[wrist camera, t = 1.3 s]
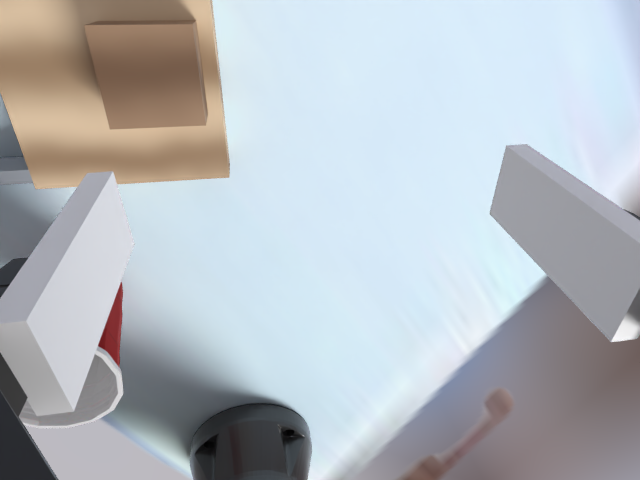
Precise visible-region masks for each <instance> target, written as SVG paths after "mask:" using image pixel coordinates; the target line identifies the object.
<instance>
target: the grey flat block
mask: <svg viewBox="0 0 640 480" xmlns="http://www.w3.org/2000/svg"><path fill="white" fill-rule="evenodd" d="M22 183H33V180H32V178H31V175H30V172H29V170H28V167H27V164H26V161H25V159H24V157H4V158H0V185H5V184H22Z"/></svg>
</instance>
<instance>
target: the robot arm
mask: <svg viewBox="0 0 640 480" xmlns="http://www.w3.org/2000/svg"><path fill="white" fill-rule="evenodd" d="M490 215H491V216H492V217H493V218H494V219H495V220H496V221H497V222H498V223H499V224H500V225H501V227H502V228H503V229H504V230H505V231H506V232H507V233H508V234H509V235H510V236H511V237H512V238H513V239H514V240H515V241H516V242H517V243H518V244H519V246H520V247H521V248H522V249H523V250H524V251H525V252H526V253H527V254H528V255H529V256H530V257H531V258H532V259H533V260H534V261H535V262H536V263H537V264H538V266H539V267H540V268H541V269H542V270H543V271H544V272H545V273H546V274H547V275H548V276H549V277H550V278H551V279H552V280H553V281H554V282H555V283H556V285H557V286H558V287H559V288H560V289H561V290H562V291H563V292H564V293H565V294H566V295H567V296H568V297H569V298H570V299H571V300H572V301H573V302H574V303H575V304H576V306H577V307H578V308H579V309H580V310H581V311H582V312H583V313H584V314H585V315H586V316H587V317H588V318H589V319H590V320H591V321H592V322H593V324H594V325H595V326H596V327H597V328H598V329H599V330H600V331H601V332H602V333H603V334H604V335H605V336H606V337H607V338H608V339H609V340H610V341H611V342H615V341H623V340H631V339H638V337H639V335H640V217H638V216H637V215H635V214H634V213H631V212H629V211H627V210H624V209H622V208H620V207H619V206H618V205H616V204H615V203H613V202H612V201H610V200H609V199H607V198H606V197H604V196H603V195H601V194H600V193H598V192H597V191H595V190H594V189H592V188H591V187H589V186H588V185H586V184H585V183H583V182H582V181H580V180H579V179H577V178H576V177H574V176H573V175H572V174H570V173H569V172H567V171H566V170H564V169H563V168H561V167H560V166H558V165H557V164H555V163H554V162H552V161H551V160H549V159H548V158H546V157H545V156H543V155H542V154H540V153H539V152H537V151H536V150H534V149H533V148H531V147H530V146H528V145H527V144H523V145H508V146H506V149H505V153H504V157H503V161H502V165H501V169H500V173H499V177H498V181H497V185H496V189H495V193H494V197H493V201H492V205H491V210H490ZM134 245H135V244H134V240H133V237H132V233H131V230H130V227H129V223H128V220H127V217H126V213H125V210H124V206H123V203H122V200H121V196H120V193H119V190H118V186H117V183H116V179H115V176H114V173H113V171H111V172H96V173H87V174H86V176H85V177H84V178H83V180H82V181H81V183H80V184H79V186H78V187H77V189H76V190H75V191H74V193H73V194H72V196H71V197H70V199H69V200H68V202H67V203H66V204H65V206H64V207H63V209H62V210H61V212H60V213H59V214H58V216H57V217H56V219H55V220H54V222H53V223H52V225H51V226H50V227H49V229H48V230H47V232H46V233H45V235H44V236H43V238H42V239H41V240H40V242H39V243H38V245H37V246H36V248H35V249H34V250H33V252H32V253H31V255H30V256H29V258H18V259H13V260H12V261H10V262H9V263H8V264H6V265H5V266H4V267H2V268H1V269H0V480H58V478H57V477H56V475H55V474H54V472H53V470H52V469H51V467H50V465H49V464H48V462H47V461H46V460H45V458H44V456H43V455H42V453H41V451H40V450H39V448H38V447H37V445H36V443H35V442H34V440H33V439H32V437H31V435H30V434H29V432H28V431H27V429H26V428H25V426H24V424H23V423H22V421H21V420H20V418H19V415H20V413H21V411H22V409H23V407H24V405H25V403H26V400H27V401H28V402H29V404H30V406H31V407H32V409H33V411H34V412H35V414H36V415H37V416H43V415H50V414H58V413H66V412H74V410H75V407H76V404H77V402H78V399H79V396H80V393H81V391H82V388H83V385H84V382H85V380H86V377H87V374H88V371H89V369H90V366H91V363H92V360H93V358H94V355H95V352H96V349H97V347H98V344H99V341H100V338H101V336H102V333H103V330H104V327H105V325H106V322H107V319H108V316H109V314H110V311H111V308H112V305H113V303H114V300H115V297H116V294H117V292H118V289H119V286H120V283H121V281H122V278H123V275H124V272H125V270H126V267H127V264H128V261H129V259H130V256H131V253H132V250H133V248H134ZM311 454H312V444H311V438H310V432H309V428H308V425H307V424H306V422H305V421H304V419H303V418H302V417H301V416H299V415H298V414H297V413H295V412H293V411H291V410H289V409H287V408H284V407H280V406H275V405H267V404H253V405H245V406H240V407H236V408H232V409H229V410H226V411H224V412H221V413H219V414H217V415H215V416H214V417H212V418H210V419H209V420H208V421H206V422H205V423H204V424H203V425H202V426H201V427H200V428H199V429H198V430H197V432H196V433H195V435H194V437H193V439H192V443H191V453H190V468H191V472H192V476H193V479H194V480H307V479H308V472H309V466H310V460H311Z"/></svg>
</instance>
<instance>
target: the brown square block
mask: <svg viewBox="0 0 640 480" xmlns="http://www.w3.org/2000/svg"><path fill="white" fill-rule="evenodd" d="M84 28H85V32H86V36H87V40H88V44H89V48H90V52H91V56H92V60H93V64H94V68H95V72H96V76H97V80H98V84H99V88H100V92H101V96H102V100H103V104H104V108H105V112H106V116H107V120H108V124H109V128H110V130H112V129H136V128H159V127H183V126H206V122H207V117H208V109H207V101H206V93H205V85H204V78H203V70H202V62H201V54H200V46H199V38H198V30H197V23H196V20H159V21H96V22H93V23H90V24H86V25H84Z"/></svg>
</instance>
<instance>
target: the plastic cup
mask: <svg viewBox="0 0 640 480" xmlns="http://www.w3.org/2000/svg"><path fill="white" fill-rule="evenodd" d="M122 297H123V289H122V282H121V283H120V286H119V289H118V292H117V294H116V297H115V300H114V303H113V305H112V308H111V311H110V314H109V316H108V319H107V322H106V325H105V327H104V330H103V333H102V336H101V338H100V341H99V344H98V347H97V349H96V352H95V355H94V358H93V360H92V363H91V366H90V369H89V371H88V374H87V377H86V380H85V382H84V385H83V388H82V391H81V393H80V396H79V399H78V402H77V404H76V407H75V410H74V412H66V413H58V414H50V415H43V416H37V415H36V414H35V412H34V411H33V409H32V407H31V406H30V404H29V402H28V401H27V400H26V403H25V405H24V407H23V409H22V411H21V413H20V415H19V418H20V420H21V421H22V423H23V424H24V425H25V426H30V427H35V428H71V427H74V426H79V425H83V424H87V423H92V422H95V421H97V420H98V419H100V418H102V417H103V416H105V415H107V414H108V413H110V412H111V411H113V410H114V409H115V407H116V406H117V404H118V402H119V400H120V399H121V397H122V395H123V382H122V373H121V369H120V367H119V364H120V356H119V350H120V337H121V325H122Z"/></svg>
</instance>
